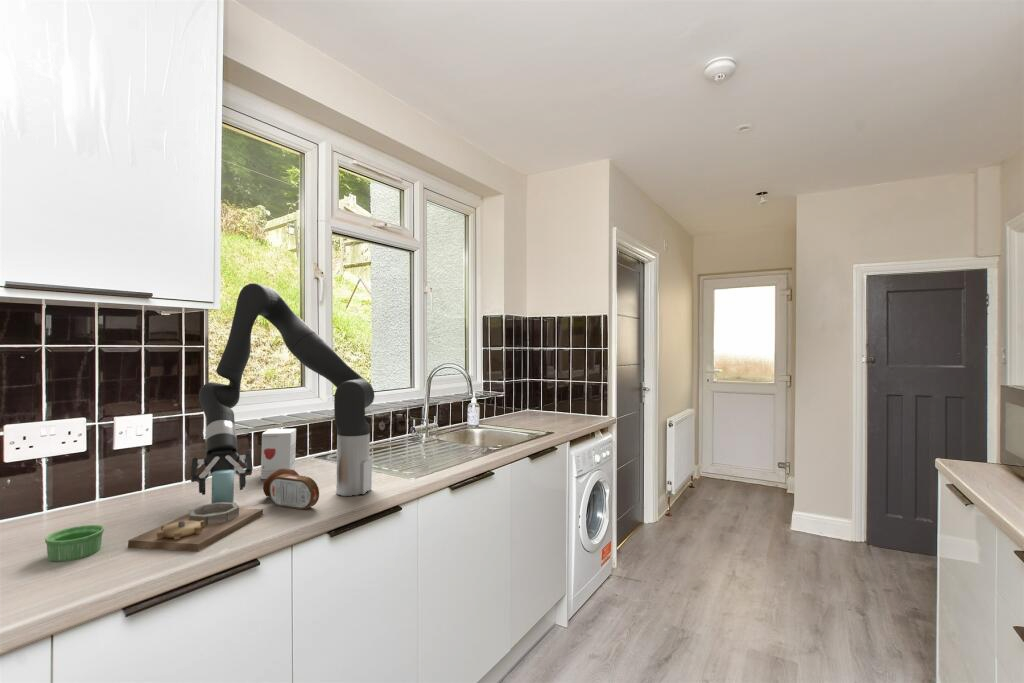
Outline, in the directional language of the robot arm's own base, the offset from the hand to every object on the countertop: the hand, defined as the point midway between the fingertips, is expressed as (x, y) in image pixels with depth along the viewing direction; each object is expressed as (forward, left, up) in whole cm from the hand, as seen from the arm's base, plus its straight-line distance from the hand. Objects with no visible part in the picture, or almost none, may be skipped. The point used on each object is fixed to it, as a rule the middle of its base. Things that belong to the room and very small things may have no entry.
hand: (223, 490), depth 127 cm
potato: (-9, -13, -5) cm, 17 cm away
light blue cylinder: (+1, -1, -5) cm, 5 cm away
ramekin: (+11, +29, -5) cm, 31 cm away
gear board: (-5, +14, -5) cm, 16 cm away
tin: (-17, -4, -5) cm, 18 cm away
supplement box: (+5, -33, -5) cm, 34 cm away
